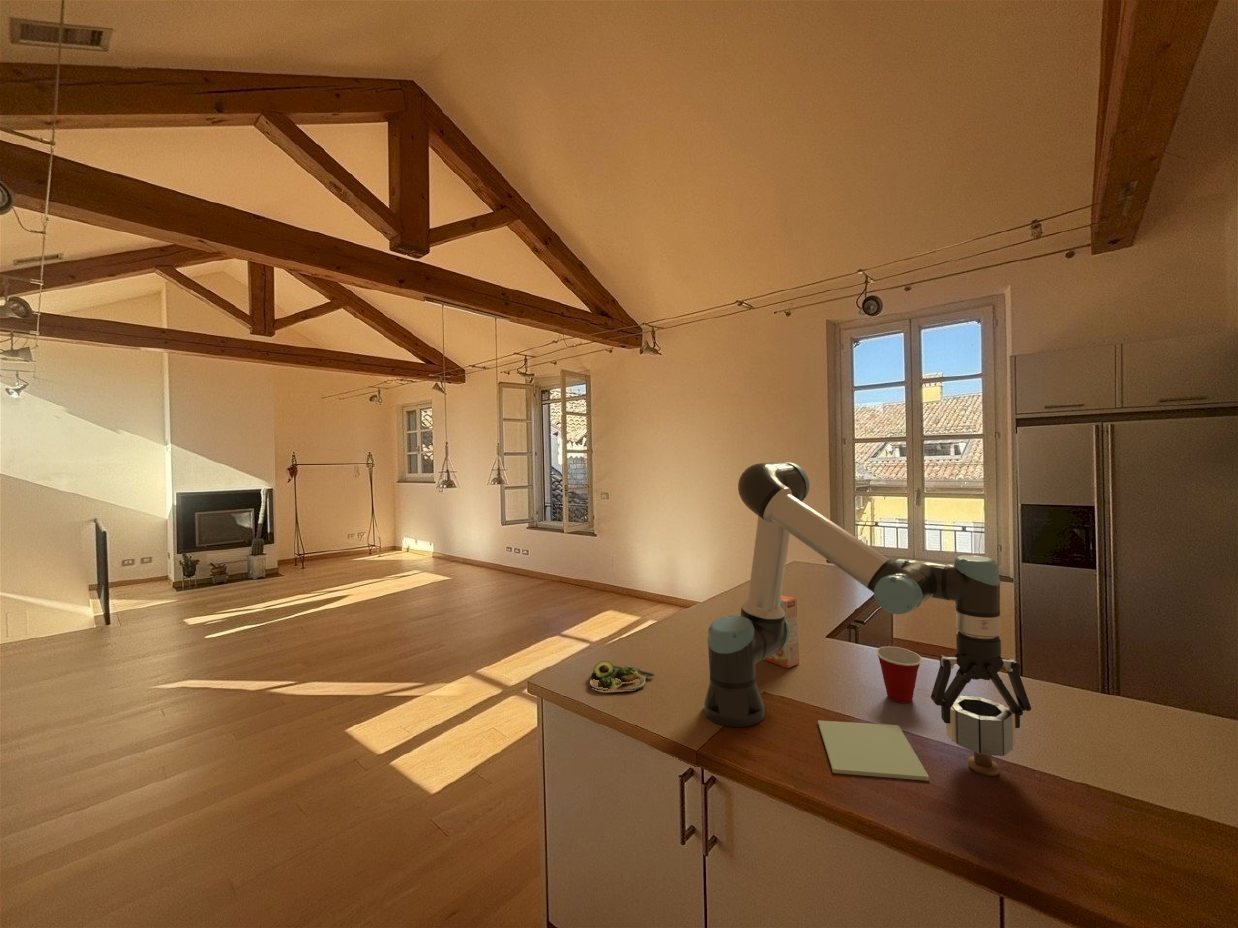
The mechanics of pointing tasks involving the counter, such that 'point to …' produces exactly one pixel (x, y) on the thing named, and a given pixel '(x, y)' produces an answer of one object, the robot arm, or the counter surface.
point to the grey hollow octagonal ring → (983, 726)
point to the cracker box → (790, 651)
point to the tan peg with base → (983, 764)
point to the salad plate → (617, 676)
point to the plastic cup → (899, 672)
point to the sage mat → (870, 750)
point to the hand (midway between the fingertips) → (980, 740)
